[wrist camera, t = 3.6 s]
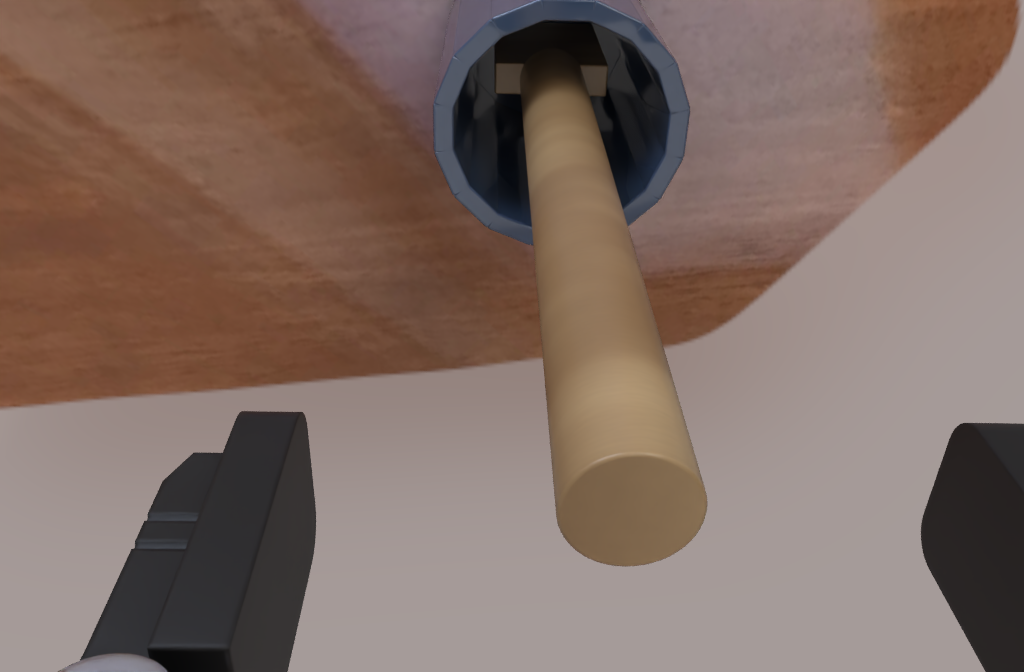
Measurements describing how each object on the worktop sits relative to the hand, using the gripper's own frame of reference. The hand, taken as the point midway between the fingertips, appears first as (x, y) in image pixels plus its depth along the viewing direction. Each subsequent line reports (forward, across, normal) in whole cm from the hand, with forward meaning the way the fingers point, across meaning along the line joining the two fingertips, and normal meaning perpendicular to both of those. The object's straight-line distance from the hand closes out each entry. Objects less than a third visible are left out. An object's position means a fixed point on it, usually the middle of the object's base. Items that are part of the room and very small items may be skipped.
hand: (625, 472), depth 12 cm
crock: (+23, 0, 0) cm, 23 cm away
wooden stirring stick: (+22, 0, 0) cm, 22 cm away
